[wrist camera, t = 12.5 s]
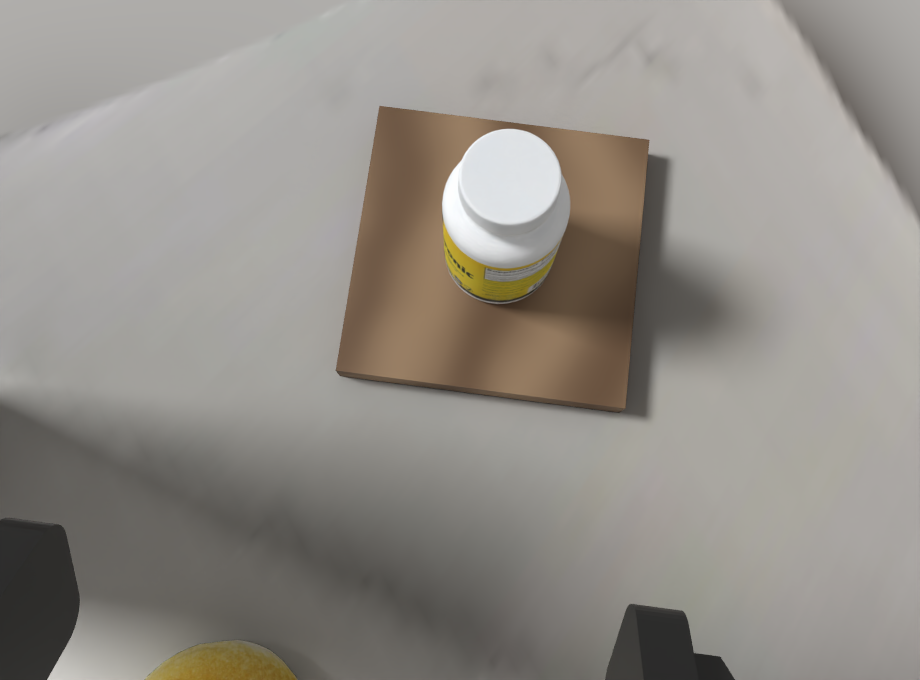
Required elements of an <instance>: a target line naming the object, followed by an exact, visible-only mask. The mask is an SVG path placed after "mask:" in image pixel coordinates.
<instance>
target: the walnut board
mask: <svg viewBox="0 0 920 680" xmlns="http://www.w3.org/2000/svg"><path fill="white" fill-rule="evenodd" d="M501 129H517V130H523V131H527V132H529V133H532V134H534V135H536V136H537V137H539V138H540V139H542V140H543V141H544V142H545V143H546V144H547V145H548V146H549V147H550V148H551V149H552V150H553V152H554V153H555V155H556V157H557V159H558V161H559V164H560V167H561V173H562V175H563V177H564V179H565V181H566V184H567V187H568V190H569V195H570V215H569V220H568V224H567V227H566V230H565V232H564V235H563V237H562V240H561V243H560V245H559V248H558V251H557V254H556V256H555V259H554V262H553V264H552V267H551V269H550V271H549V274H548V275H547V277H546V279H545V280H544V282H543V283H542V284H541V286H540V287H539V288H538V289H537V290H536V291H534V292H533V293H532V294H530V295H529V296H527V297H525V298H523V299H521V300H518V301H515V302H511V303H505V304H494V303H487V302H483V301H480V300H477V299H475V298H473V297H471V296H470V295H468V294H467V293H465V292H464V291H463V290H462V289H461V288H460V287H459V286H458V285H457V284H456V283H455V281H454V280H453V278H452V277H451V275H450V273H449V270H448V268H447V265H446V261H445V254H444V236H443V219H442V200H443V193H444V189H445V185H446V182H447V180H448V178H449V176H450V174H451V173H452V171H453V170H454V168H455V167H456V166H457V165H458V164H459V162H460V161H461V160H462V159H463V156H464V154H465V153H466V151H467V150H468V148H469V147H470V146H471V145H472V144H473V143H474V142H475V141H476V140H478V139H479V138H480V137H482V136H484V135H486V134H488V133H490V132H493V131H497V130H501ZM648 148H649V140H646V139H638V138H630V137H622V136H614V135H606V134H598V133H590V132H582V131H574V130H566V129H558V128H550V127H543V126H535V125H527V124H519V123H511V122H503V121H495V120H487V119H479V118H471V117H463V116H455V115H447V114H439V113H431V112H424V111H416V110H408V109H400V108H392V107H384V106H380V107H379V113H378V119H377V125H376V131H375V137H374V143H373V149H372V155H371V161H370V167H369V173H368V179H367V185H366V191H365V197H364V203H363V209H362V216H361V222H360V228H359V234H358V240H357V246H356V252H355V258H354V264H353V270H352V276H351V282H350V288H349V294H348V300H347V306H346V312H345V318H344V324H343V330H342V336H341V342H340V348H339V354H338V360H337V366H336V371H337V373H338V374H339V375H340V376H346V377H353V378H361V379H368V380H376V381H384V382H391V383H399V384H406V385H414V386H422V387H429V388H437V389H444V390H452V391H460V392H467V393H475V394H482V395H490V396H498V397H505V398H513V399H520V400H528V401H536V402H543V403H551V404H558V405H566V406H574V407H581V408H589V409H596V410H604V411H612V412H621V411H622V410H624V409H625V407H626V396H627V384H628V373H629V362H630V351H631V340H632V328H633V317H634V306H635V295H636V283H637V272H638V261H639V250H640V238H641V227H642V216H643V205H644V193H645V182H646V171H647V160H648Z"/></svg>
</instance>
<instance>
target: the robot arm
mask: <svg viewBox="0 0 920 680" xmlns="http://www.w3.org/2000/svg"><path fill="white" fill-rule="evenodd" d="M79 603H80V599H79V591H78V587H77V582H76V577H75V573H74V568H73V564H72V559H71V554H70V550H69V545H68V541H67V536H66V533H65V530H64V528H63V527H62V526H61V525H58V524H50V523H43V522H35V521H28V520H21V519H13V518H4V519H2V520H0V680H47V679H48V677H49V675H50V673H51V671H52V670H53V668H54V666H55V664H56V663H57V661H58V659H59V657H60V656H61V654H62V652H63V650H64V649H65V647H66V645H67V643H68V641H69V640H70V638H71V635H72V633H73V630H74V628H75V625H76V621H77V617H78V612H79ZM605 680H735V679H734V678H733V676H732V674H731V673H730V671H729V670H728V668H727V667H726V665H725V663H724V662H723V660H722V659H721V657H718V656H711V655H704V654H696V653H694V652H693V646H692V641H691V635H690V630H689V624H688V620H687V617H686V615H685V613H684V612H683V611H680V610H672V609H665V608H657V607H650V606H643V605H635V604H629V606H628V607H627V609H626V612H625V615H624V618H623V621H622V624H621V627H620V631H619V634H618V637H617V640H616V643H615V646H614V649H613V653H612V656H611V659H610V662H609V665H608V669H607V673H606V678H605Z"/></svg>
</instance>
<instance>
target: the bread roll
mask: <svg viewBox="0 0 920 680" xmlns="http://www.w3.org/2000/svg"><path fill="white" fill-rule="evenodd" d="M145 680H297V678H296V677H295V675H294V674H293V673H292V672H291V670H290V669H289V668H288V667H287V665H286V664H285V663H284V662H283V661H282V660H281V659H280V658H279V657H278V656H277V655H275V654H274V653H273V652H272V651H270V650H269V649H267V648H264V647H262V646H260V645H258V644H255V643H252V642H248V641H241V640H231V641H221V642H212V643H204V644H199V645H196V646H193V647H191V648H188V649H186V650H184V651H182V652H180V653H177V654H176V655H174V656H173V657H171V658H170V659H168V660H166V661H165V662H163V663H162V664H161V665H160V666H158V667H157V668H156V669H155V670H154V671H153V672H152V673H151V674H149V675H148V676H147V678H146V679H145Z"/></svg>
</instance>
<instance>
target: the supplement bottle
mask: <svg viewBox="0 0 920 680" xmlns="http://www.w3.org/2000/svg"><path fill="white" fill-rule="evenodd" d="M569 215H570V195H569V190H568V187H567V184H566V181H565V179H564V177H563V175H562V173H561V167H560V164H559V161H558V159H557V157H556V155H555V153H554V152H553V150H552V149H551V148H550V147H549V146H548V145H547V144H546V143H545V142H544V141H543V140H542V139H540V138H539V137H537V136H536V135H534V134H532V133H529V132H527V131H523V130H517V129H501V130H497V131H493V132H490V133H488V134H486V135H484V136H482V137H480V138H479V139H478V140H476V141H475V142H474V143H473V144H472V145H471V146H470V147H469V148H468V150H467V151H466V153H465V154H464V156H463V159H462V160H461V161H460V162H459V164H458V165H457V166H456V167H455V168H454V170H453V171H452V173H451V174H450V176H449V178H448V180H447V182H446V185H445V189H444V193H443V200H442V219H443V236H444V254H445V261H446V265H447V268H448V270H449V273H450V275H451V277H452V278H453V280H454V281H455V283H456V284H457V285H458V286H459V287H460V288H461V289H462V290H463V291H464V292H465V293H467V294H468V295H470V296H471V297H473V298H475V299H477V300H480V301H483V302H487V303H494V304H505V303H511V302H515V301H518V300H521V299H523V298H525V297H527V296H529V295H530V294H532V293H533V292H534V291H536V290H537V289H538V288H539V287H540V286H541V284H542V283H543V282H544V280H545V279H546V277H547V275H548V274H549V271H550V269H551V267H552V264H553V262H554V259H555V256H556V254H557V251H558V248H559V245H560V243H561V240H562V237H563V235H564V232H565V230H566V227H567V224H568V220H569Z"/></svg>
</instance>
